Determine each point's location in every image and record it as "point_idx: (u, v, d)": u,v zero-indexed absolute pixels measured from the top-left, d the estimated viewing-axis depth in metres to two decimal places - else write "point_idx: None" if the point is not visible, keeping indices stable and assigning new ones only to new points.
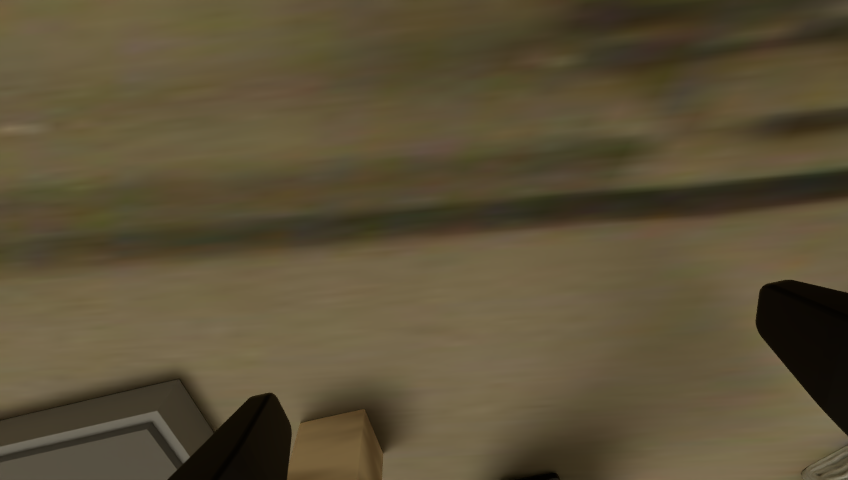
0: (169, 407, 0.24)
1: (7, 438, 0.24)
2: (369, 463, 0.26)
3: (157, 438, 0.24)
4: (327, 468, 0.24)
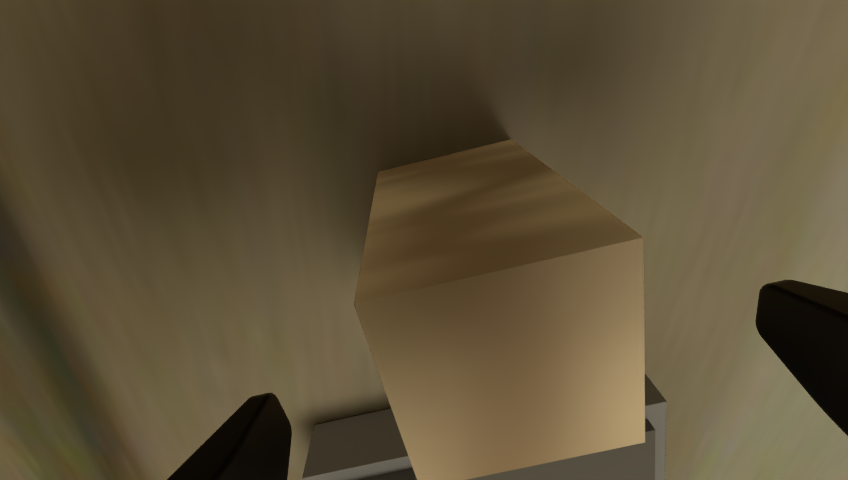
0: (320, 456, 0.16)
1: None
2: (437, 182, 0.11)
3: None
4: None
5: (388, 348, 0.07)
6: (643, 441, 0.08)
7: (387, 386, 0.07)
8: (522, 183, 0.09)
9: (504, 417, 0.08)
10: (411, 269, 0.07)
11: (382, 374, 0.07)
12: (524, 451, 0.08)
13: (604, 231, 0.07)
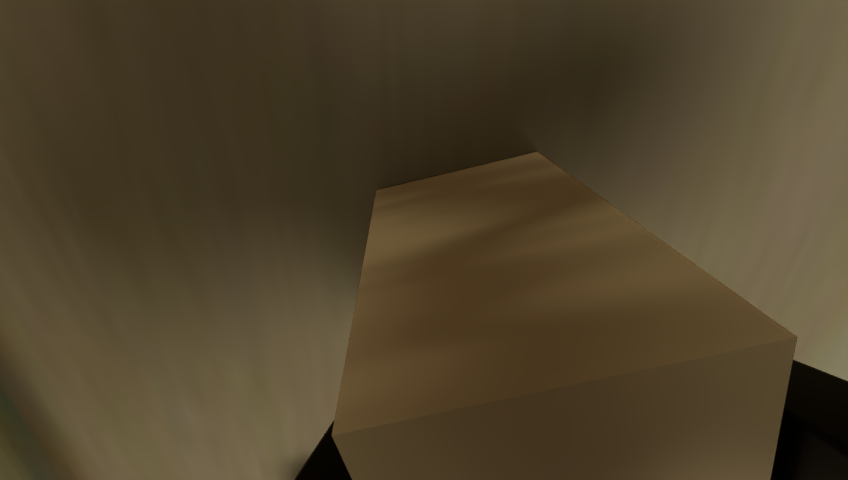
0: None
1: None
2: (450, 209, 0.09)
3: None
4: None
5: None
6: None
7: None
8: (566, 218, 0.07)
9: None
10: (421, 366, 0.05)
11: None
12: None
13: (720, 317, 0.04)
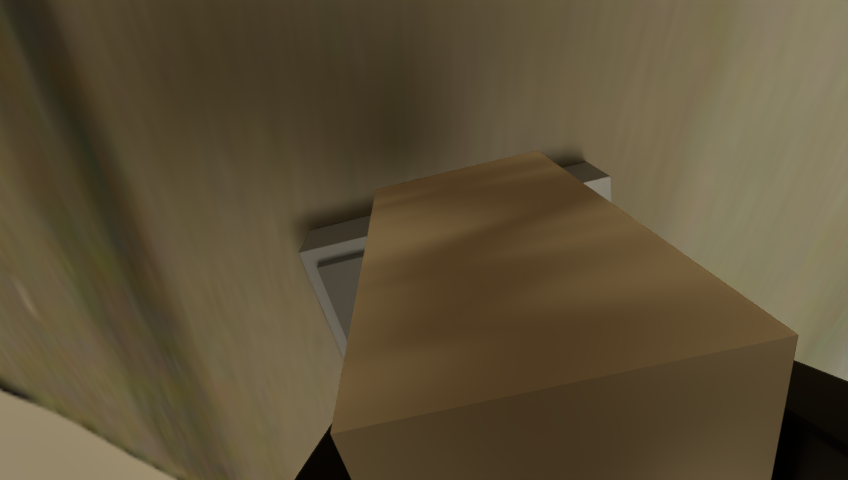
0: (314, 242, 0.19)
1: None
2: (449, 208, 0.09)
3: (338, 261, 0.18)
4: None
5: None
6: None
7: None
8: (566, 216, 0.07)
9: None
10: (420, 364, 0.05)
11: None
12: None
13: (721, 314, 0.04)
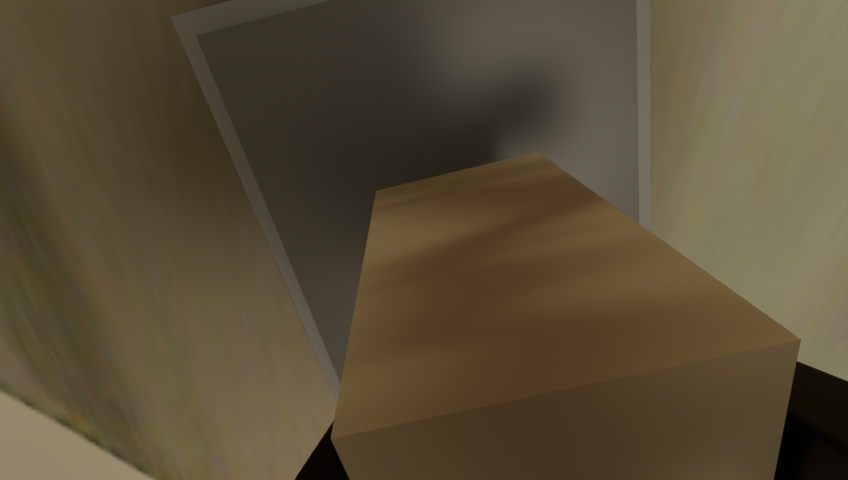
0: None
1: None
2: (450, 210, 0.09)
3: (230, 27, 0.12)
4: None
5: None
6: None
7: None
8: (567, 218, 0.07)
9: None
10: (422, 369, 0.05)
11: None
12: None
13: (723, 319, 0.04)
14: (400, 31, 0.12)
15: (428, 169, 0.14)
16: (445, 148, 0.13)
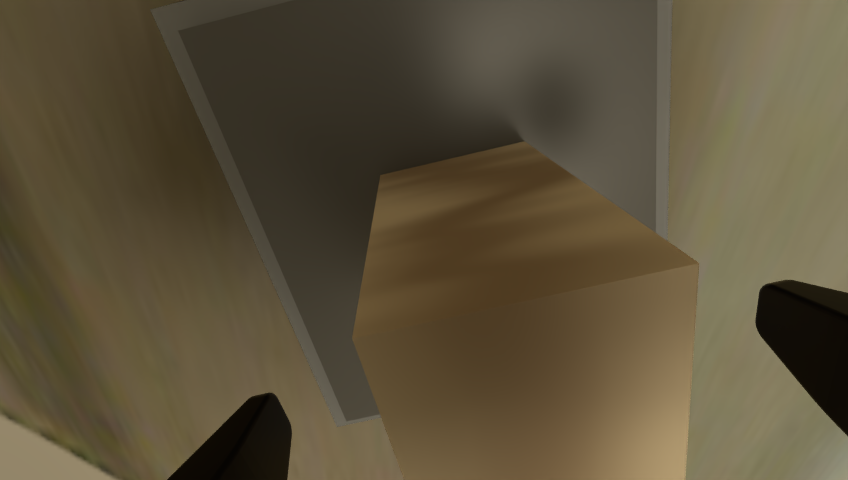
0: None
1: None
2: (446, 188, 0.10)
3: (216, 21, 0.11)
4: None
5: (392, 388, 0.06)
6: None
7: (390, 432, 0.06)
8: (542, 191, 0.08)
9: (525, 464, 0.07)
10: (420, 294, 0.06)
11: (385, 417, 0.06)
12: None
13: (648, 253, 0.06)
14: (400, 26, 0.11)
15: None
16: (449, 152, 0.12)
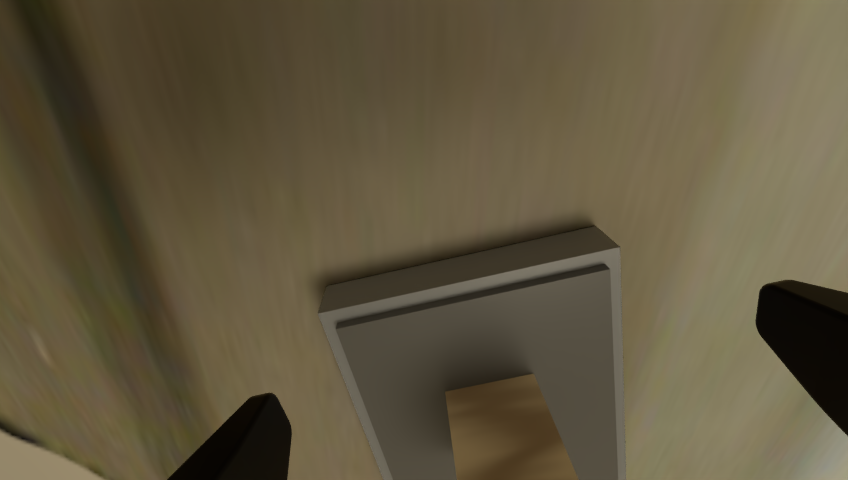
0: (332, 301, 0.20)
1: None
2: (491, 430, 0.18)
3: (356, 322, 0.19)
4: None
5: None
6: None
7: None
8: (545, 455, 0.16)
9: None
10: None
11: None
12: None
13: None
14: (463, 323, 0.19)
15: None
16: (487, 380, 0.20)
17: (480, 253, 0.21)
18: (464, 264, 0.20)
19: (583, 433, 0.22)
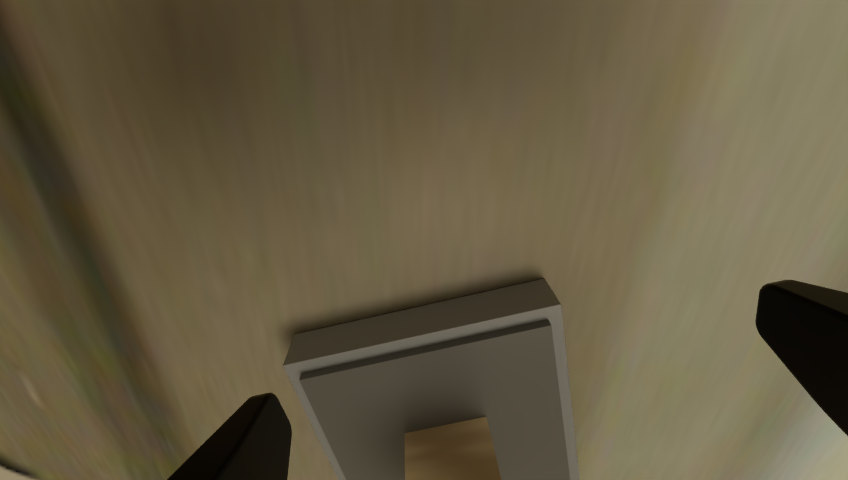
0: (298, 352, 0.21)
1: None
2: (441, 474, 0.20)
3: (318, 373, 0.20)
4: None
5: None
6: None
7: None
8: None
9: None
10: None
11: None
12: None
13: None
14: (417, 374, 0.20)
15: None
16: (444, 422, 0.22)
17: (437, 304, 0.22)
18: (420, 316, 0.22)
19: (537, 469, 0.24)
